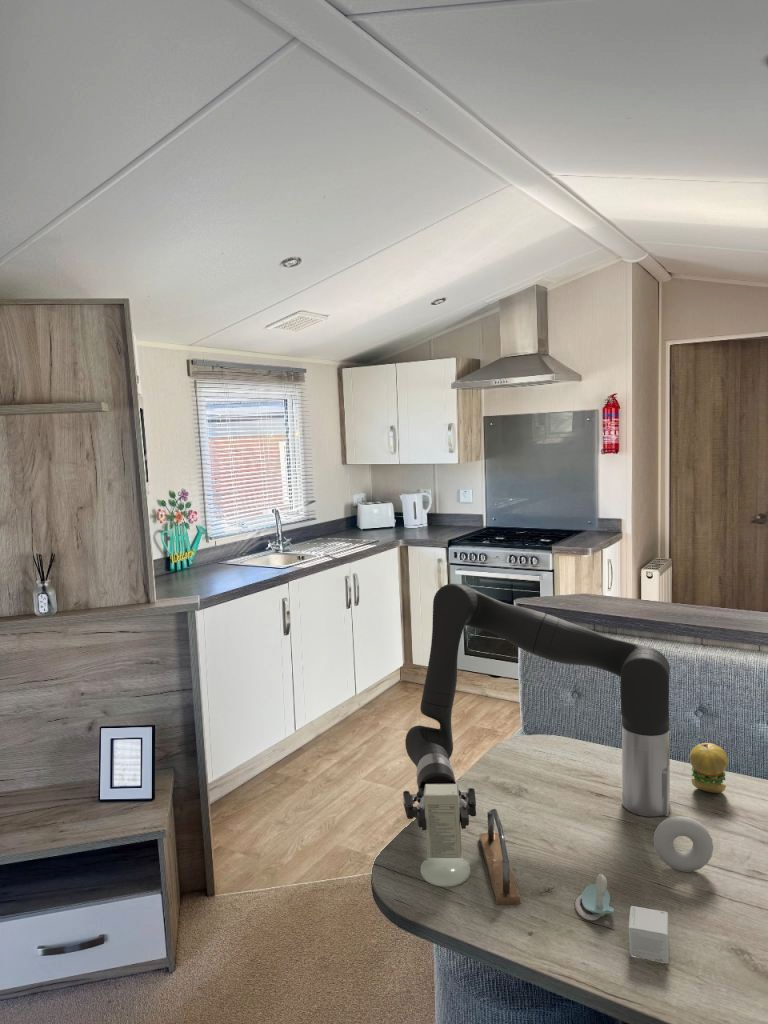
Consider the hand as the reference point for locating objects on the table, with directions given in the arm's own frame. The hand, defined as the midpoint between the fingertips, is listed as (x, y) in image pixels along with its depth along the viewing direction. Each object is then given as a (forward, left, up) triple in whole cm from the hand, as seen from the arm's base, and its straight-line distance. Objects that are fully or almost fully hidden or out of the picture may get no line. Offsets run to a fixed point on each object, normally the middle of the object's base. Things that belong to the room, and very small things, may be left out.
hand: (444, 824), depth 132 cm
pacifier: (-26, -1, -11) cm, 28 cm away
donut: (-39, -17, -11) cm, 44 cm away
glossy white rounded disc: (+1, -2, -10) cm, 10 cm away
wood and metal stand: (-8, -6, -10) cm, 14 cm away
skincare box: (+1, -2, -7) cm, 7 cm away
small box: (-35, +6, -11) cm, 37 cm away
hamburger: (-43, -48, -11) cm, 65 cm away
